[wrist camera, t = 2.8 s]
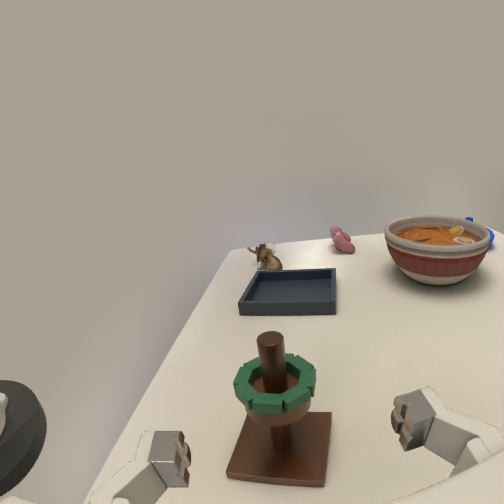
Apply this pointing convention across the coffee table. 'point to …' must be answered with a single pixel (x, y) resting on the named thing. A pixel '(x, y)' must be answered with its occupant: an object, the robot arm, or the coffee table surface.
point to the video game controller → (341, 240)
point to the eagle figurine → (267, 257)
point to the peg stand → (281, 430)
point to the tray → (290, 293)
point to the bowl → (436, 247)
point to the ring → (271, 401)
